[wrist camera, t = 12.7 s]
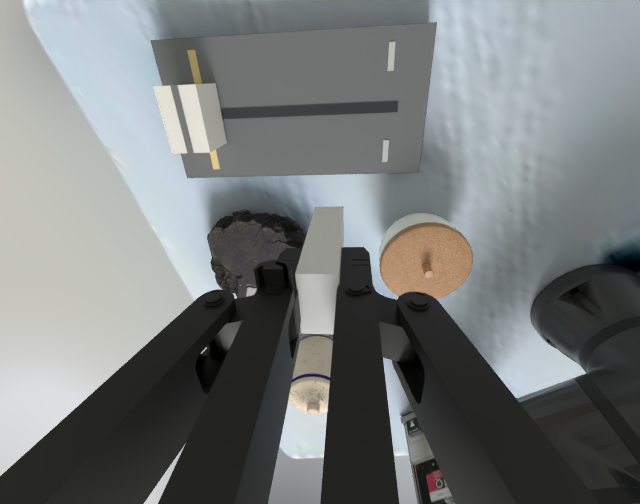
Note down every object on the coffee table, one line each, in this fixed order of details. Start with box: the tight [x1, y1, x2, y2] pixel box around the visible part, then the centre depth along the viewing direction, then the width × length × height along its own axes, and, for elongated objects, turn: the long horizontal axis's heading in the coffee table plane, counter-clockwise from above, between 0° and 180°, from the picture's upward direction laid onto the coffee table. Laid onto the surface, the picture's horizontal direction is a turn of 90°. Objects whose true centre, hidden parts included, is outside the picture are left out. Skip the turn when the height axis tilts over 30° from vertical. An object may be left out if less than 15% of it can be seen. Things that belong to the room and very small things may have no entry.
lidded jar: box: [379, 213, 473, 299], centre depth 39 cm, size 11×11×9 cm
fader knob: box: [153, 83, 227, 154], centre depth 31 cm, size 4×6×5 cm, turn 3°
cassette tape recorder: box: [401, 412, 455, 504], centre depth 51 cm, size 14×6×25 cm, turn 135°
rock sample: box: [207, 210, 306, 299], centre depth 44 cm, size 18×16×5 cm
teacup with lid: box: [289, 336, 333, 416], centre depth 51 cm, size 12×9×12 cm
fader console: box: [151, 22, 437, 178], centre depth 34 cm, size 28×14×3 cm, turn 93°
